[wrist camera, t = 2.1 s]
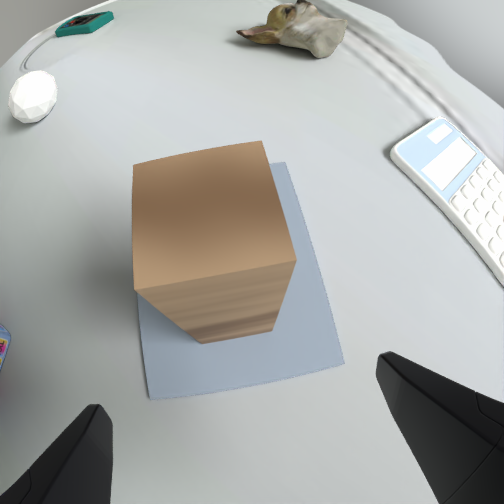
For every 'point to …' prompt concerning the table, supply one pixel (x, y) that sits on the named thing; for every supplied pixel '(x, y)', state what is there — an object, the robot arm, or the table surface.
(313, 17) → the ceramic sculpture
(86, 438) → the robot arm
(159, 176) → the walnut block
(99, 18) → the digital multimeter
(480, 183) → the calculator
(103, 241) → the table surface
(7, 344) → the ink cartridge box
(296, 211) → the desk pad
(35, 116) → the geometric ball
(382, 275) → the table surface
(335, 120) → the table surface
